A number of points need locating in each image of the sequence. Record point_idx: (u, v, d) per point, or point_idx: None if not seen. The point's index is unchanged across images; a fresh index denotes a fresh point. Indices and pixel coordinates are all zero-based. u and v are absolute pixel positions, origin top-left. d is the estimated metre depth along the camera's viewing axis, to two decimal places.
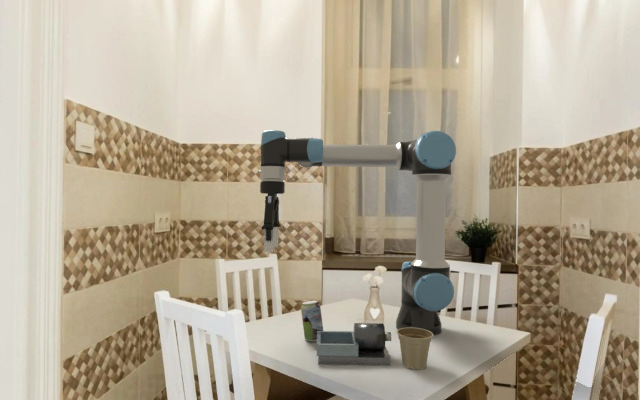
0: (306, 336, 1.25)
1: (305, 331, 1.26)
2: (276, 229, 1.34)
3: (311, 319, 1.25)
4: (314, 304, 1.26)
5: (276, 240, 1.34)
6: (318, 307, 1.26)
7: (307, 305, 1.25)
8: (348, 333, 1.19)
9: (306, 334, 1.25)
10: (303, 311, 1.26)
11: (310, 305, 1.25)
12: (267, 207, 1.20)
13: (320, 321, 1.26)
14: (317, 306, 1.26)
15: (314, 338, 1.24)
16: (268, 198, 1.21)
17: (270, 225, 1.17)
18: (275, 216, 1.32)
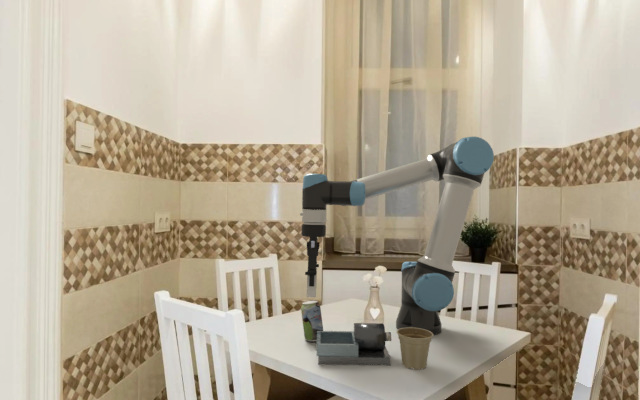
0: (306, 336, 1.25)
1: (305, 331, 1.26)
2: None
3: (311, 319, 1.25)
4: (314, 304, 1.26)
5: None
6: (318, 307, 1.26)
7: (307, 305, 1.25)
8: (348, 333, 1.19)
9: (306, 334, 1.25)
10: (303, 311, 1.26)
11: (310, 305, 1.25)
12: (311, 253, 1.20)
13: (320, 321, 1.26)
14: (317, 306, 1.26)
15: (314, 338, 1.24)
16: (311, 243, 1.21)
17: (314, 271, 1.18)
18: None
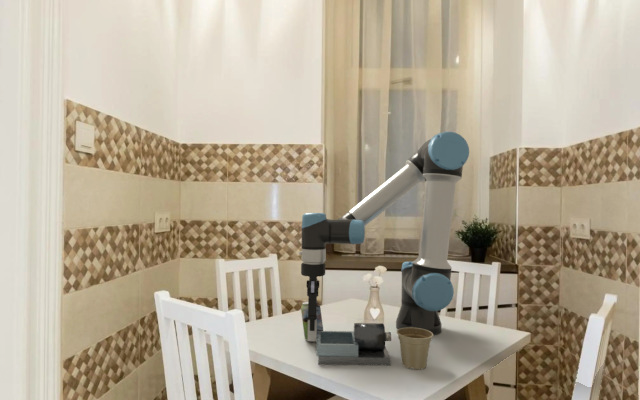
0: (306, 336, 1.25)
1: (305, 331, 1.26)
2: None
3: None
4: None
5: None
6: (318, 307, 1.26)
7: (307, 305, 1.25)
8: (348, 333, 1.19)
9: (306, 334, 1.25)
10: (303, 311, 1.26)
11: None
12: (311, 298, 1.21)
13: (320, 321, 1.26)
14: (317, 306, 1.26)
15: None
16: (311, 289, 1.21)
17: (314, 317, 1.21)
18: None
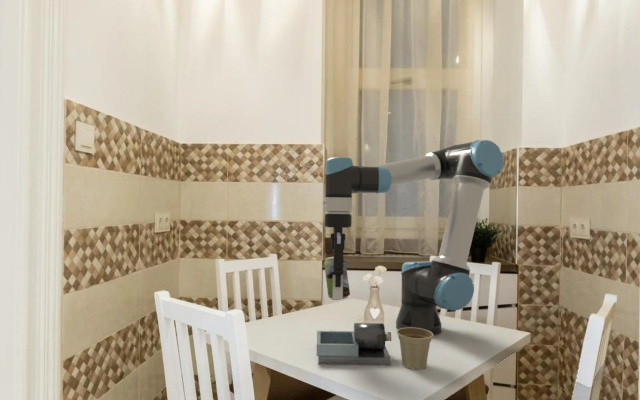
0: (330, 294, 1.12)
1: (329, 288, 1.13)
2: None
3: None
4: None
5: None
6: (343, 262, 1.13)
7: (331, 260, 1.13)
8: (348, 333, 1.19)
9: (330, 292, 1.12)
10: (327, 266, 1.13)
11: None
12: (337, 250, 1.08)
13: (346, 277, 1.13)
14: None
15: None
16: (337, 239, 1.08)
17: (341, 271, 1.08)
18: None
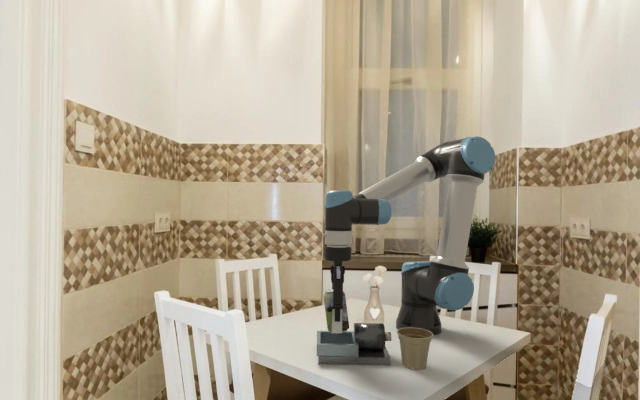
0: (330, 328, 1.12)
1: (328, 322, 1.13)
2: None
3: None
4: None
5: None
6: (343, 295, 1.13)
7: (331, 293, 1.12)
8: (348, 333, 1.19)
9: (330, 325, 1.12)
10: (326, 300, 1.13)
11: None
12: (336, 285, 1.08)
13: (345, 311, 1.13)
14: None
15: None
16: (337, 274, 1.08)
17: (341, 306, 1.08)
18: None
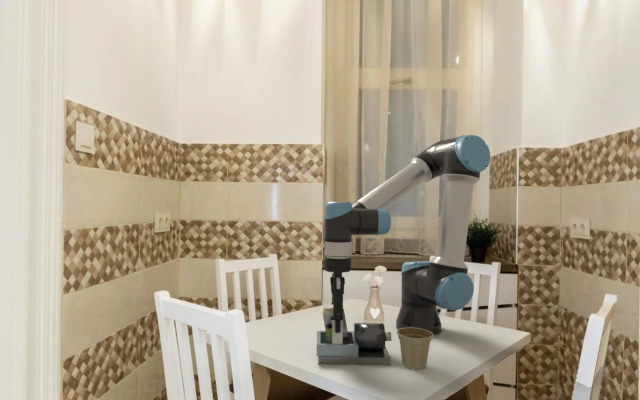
0: None
1: (329, 339, 1.13)
2: None
3: None
4: None
5: None
6: None
7: (330, 310, 1.12)
8: (348, 333, 1.19)
9: (330, 342, 1.12)
10: (325, 316, 1.13)
11: None
12: (336, 296, 1.08)
13: (345, 327, 1.13)
14: None
15: None
16: (337, 284, 1.08)
17: (341, 317, 1.07)
18: None
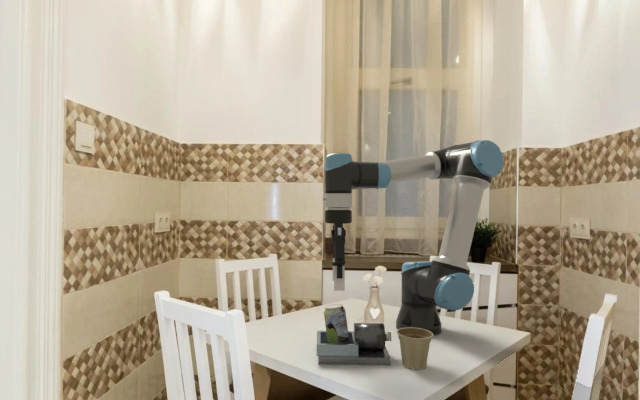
0: None
1: (329, 339, 1.13)
2: None
3: (336, 325, 1.12)
4: (339, 308, 1.13)
5: None
6: (343, 312, 1.13)
7: (331, 310, 1.12)
8: (348, 333, 1.19)
9: (330, 342, 1.12)
10: (327, 316, 1.13)
11: (335, 310, 1.12)
12: (337, 241, 1.07)
13: (346, 327, 1.13)
14: (342, 311, 1.13)
15: None
16: (338, 230, 1.08)
17: (343, 261, 1.05)
18: None
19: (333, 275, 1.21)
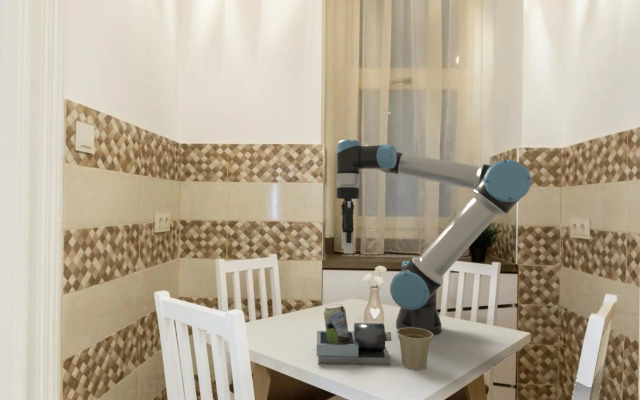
0: None
1: (329, 338, 1.13)
2: None
3: (336, 325, 1.12)
4: (339, 308, 1.13)
5: None
6: (343, 312, 1.13)
7: (331, 310, 1.13)
8: (348, 333, 1.19)
9: (330, 342, 1.12)
10: (327, 316, 1.13)
11: (335, 310, 1.12)
12: (347, 212, 1.29)
13: (346, 327, 1.13)
14: (342, 311, 1.13)
15: None
16: (348, 203, 1.30)
17: (352, 228, 1.27)
18: None
19: (342, 244, 1.43)
